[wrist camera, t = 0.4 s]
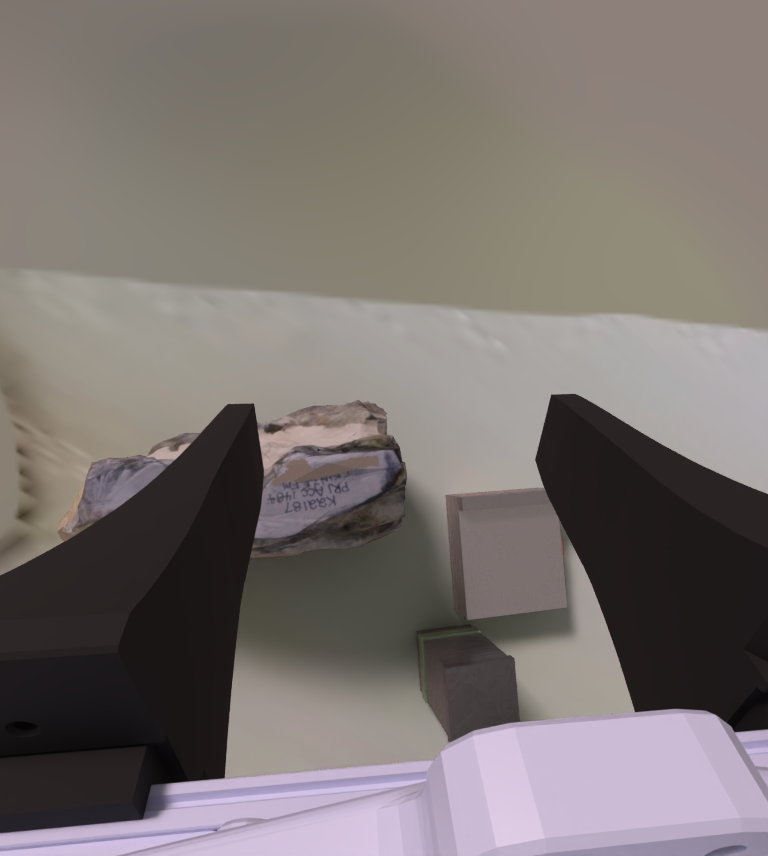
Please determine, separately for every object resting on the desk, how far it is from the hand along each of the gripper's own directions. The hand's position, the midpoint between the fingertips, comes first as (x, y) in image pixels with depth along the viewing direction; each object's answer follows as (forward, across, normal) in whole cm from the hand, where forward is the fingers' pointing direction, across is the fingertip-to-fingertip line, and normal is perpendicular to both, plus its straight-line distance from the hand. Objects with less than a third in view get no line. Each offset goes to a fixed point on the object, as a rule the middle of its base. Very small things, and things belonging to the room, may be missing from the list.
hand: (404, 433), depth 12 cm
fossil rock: (+20, +8, +18) cm, 28 cm away
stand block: (+17, -11, +24) cm, 32 cm away
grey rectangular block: (+12, -6, +30) cm, 33 cm away
